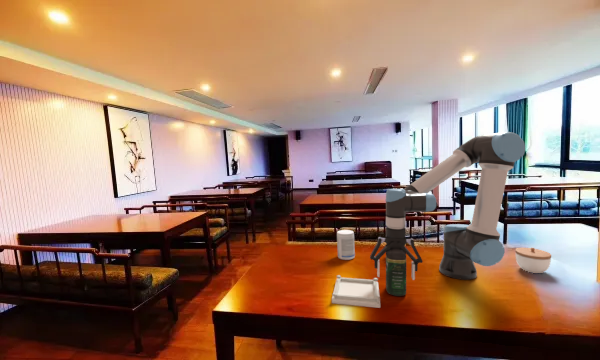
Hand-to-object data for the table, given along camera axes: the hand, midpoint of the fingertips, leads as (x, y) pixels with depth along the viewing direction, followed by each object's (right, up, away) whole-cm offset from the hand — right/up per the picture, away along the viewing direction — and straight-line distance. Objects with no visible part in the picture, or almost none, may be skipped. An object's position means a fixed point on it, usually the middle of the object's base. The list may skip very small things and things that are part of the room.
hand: (395, 277), depth 108 cm
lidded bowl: (+70, -3, +15) cm, 72 cm away
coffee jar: (0, -6, 0) cm, 6 cm away
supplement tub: (-13, -4, +40) cm, 42 cm away
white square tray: (-16, -7, -1) cm, 18 cm away
